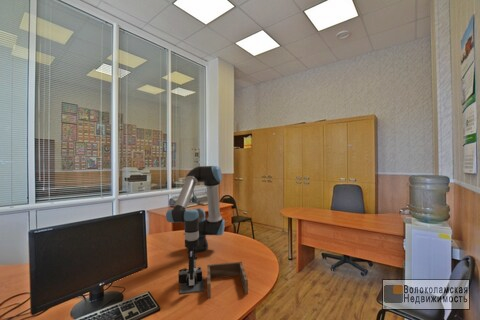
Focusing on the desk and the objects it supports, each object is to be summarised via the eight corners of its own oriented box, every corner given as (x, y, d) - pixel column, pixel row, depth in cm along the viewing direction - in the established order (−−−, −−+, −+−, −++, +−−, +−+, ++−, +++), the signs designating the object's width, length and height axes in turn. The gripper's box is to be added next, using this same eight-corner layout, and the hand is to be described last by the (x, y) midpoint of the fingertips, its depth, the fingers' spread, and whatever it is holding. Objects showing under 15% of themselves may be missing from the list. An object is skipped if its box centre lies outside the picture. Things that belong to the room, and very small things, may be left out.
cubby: (207, 277, 125) (207, 264, 125) (241, 273, 128) (241, 261, 128) (207, 298, 105) (207, 283, 105) (248, 293, 108) (247, 279, 108)
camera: (177, 290, 111) (178, 272, 112) (177, 281, 119) (178, 265, 119) (202, 288, 114) (203, 271, 115) (201, 280, 122) (202, 264, 122)
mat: (182, 279, 123) (182, 278, 123) (204, 277, 124) (204, 276, 124) (179, 294, 109) (179, 292, 109) (203, 291, 111) (203, 290, 111)
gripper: (186, 231, 129) (187, 267, 129) (182, 248, 104) (182, 292, 104) (199, 231, 130) (200, 266, 130) (197, 246, 105) (198, 290, 105)
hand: (192, 278), depth 117 cm, fingers open, 13 cm apart
